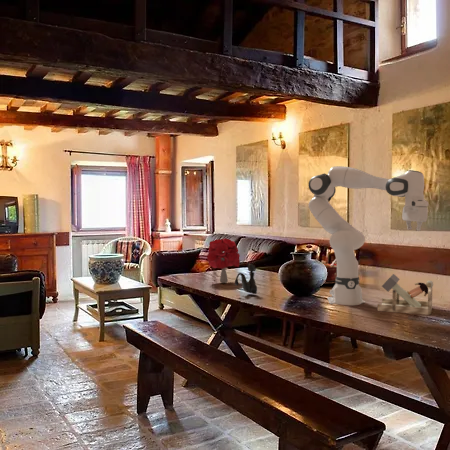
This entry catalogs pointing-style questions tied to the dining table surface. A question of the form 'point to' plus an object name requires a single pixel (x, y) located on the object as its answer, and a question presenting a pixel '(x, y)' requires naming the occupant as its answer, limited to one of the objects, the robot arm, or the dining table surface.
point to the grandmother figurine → (420, 289)
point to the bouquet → (223, 256)
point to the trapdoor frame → (406, 305)
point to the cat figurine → (250, 285)
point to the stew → (331, 272)
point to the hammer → (399, 290)
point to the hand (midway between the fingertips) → (413, 230)
